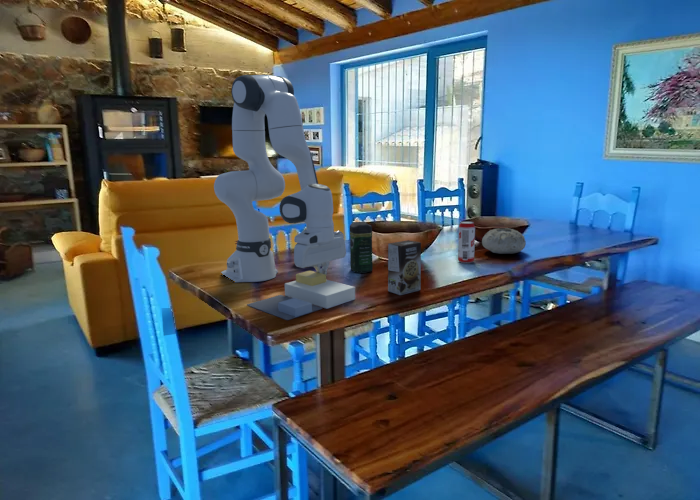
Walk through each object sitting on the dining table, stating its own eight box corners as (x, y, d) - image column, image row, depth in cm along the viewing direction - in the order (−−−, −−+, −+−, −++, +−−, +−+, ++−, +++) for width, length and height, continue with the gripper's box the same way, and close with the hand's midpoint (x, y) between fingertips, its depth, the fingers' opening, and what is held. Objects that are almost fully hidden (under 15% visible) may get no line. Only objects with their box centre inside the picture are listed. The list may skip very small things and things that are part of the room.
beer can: (457, 263, 201) (458, 223, 198) (458, 259, 207) (459, 220, 203) (473, 264, 199) (474, 223, 196) (474, 260, 205) (475, 221, 202)
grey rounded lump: (530, 257, 208) (532, 233, 206) (486, 258, 209) (487, 233, 207) (517, 248, 226) (519, 225, 224) (477, 248, 226) (478, 226, 224)
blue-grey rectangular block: (294, 297, 153) (294, 305, 154) (278, 302, 149) (278, 310, 150) (311, 303, 148) (312, 311, 148) (295, 308, 144) (296, 316, 144)
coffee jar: (375, 272, 191) (374, 223, 187) (354, 274, 189) (353, 224, 185) (368, 266, 200) (367, 219, 196) (348, 268, 198) (347, 220, 194)
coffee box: (400, 295, 162) (400, 246, 159) (387, 291, 167) (387, 243, 164) (421, 290, 167) (421, 242, 164) (408, 286, 172) (408, 239, 169)
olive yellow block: (296, 281, 167) (295, 274, 166) (310, 277, 171) (309, 270, 170) (312, 286, 161) (311, 278, 160) (326, 282, 165) (326, 274, 165)
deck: (285, 295, 165) (284, 283, 164) (313, 287, 174) (312, 276, 173) (326, 308, 151) (326, 295, 151) (355, 299, 160) (354, 286, 159)
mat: (246, 305, 156) (246, 304, 156) (280, 295, 165) (280, 294, 165) (287, 320, 143) (287, 319, 142) (322, 308, 151) (322, 307, 151)
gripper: (336, 228, 175) (337, 267, 178) (290, 238, 161) (292, 280, 164) (349, 230, 171) (350, 270, 174) (303, 240, 157) (304, 283, 160)
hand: (321, 275), depth 169 cm, fingers closed
